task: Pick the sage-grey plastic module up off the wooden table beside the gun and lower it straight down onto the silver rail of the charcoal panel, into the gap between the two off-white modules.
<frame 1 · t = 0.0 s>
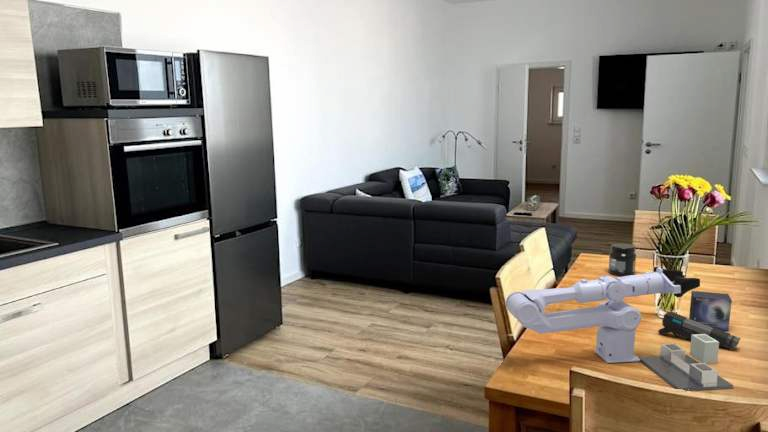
hand: (690, 278, 162), 22 cm above the table, tool horizontal, fingers open, 7 cm apart
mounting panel: (682, 373, 153), on the table
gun: (696, 342, 175), on the table
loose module: (703, 358, 162), on the table
supplement container: (621, 274, 249), on the table
small box: (708, 327, 186), on the table
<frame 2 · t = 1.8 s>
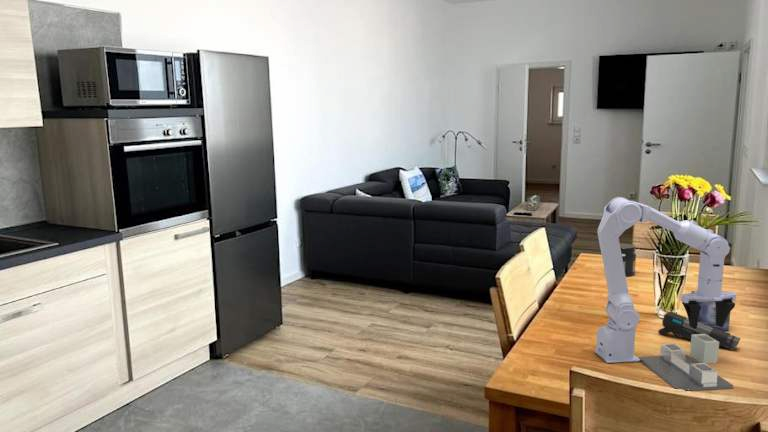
hand: (706, 326, 161), 9 cm above the table, tool pointing down, fingers open, 7 cm apart
nothing on the table moved.
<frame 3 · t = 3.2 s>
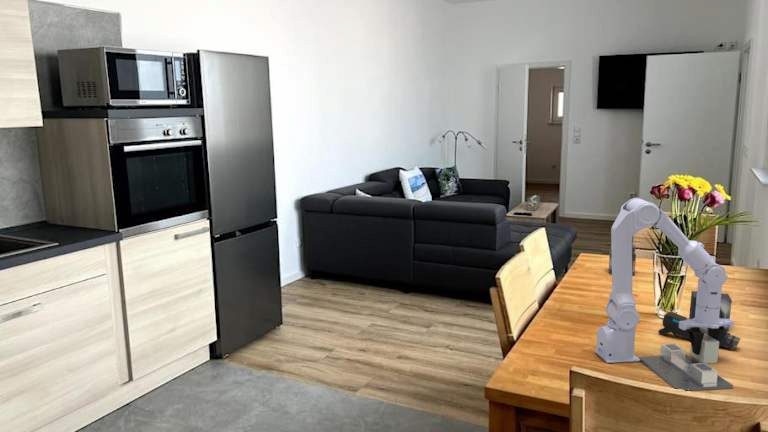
hand: (703, 353, 162), 2 cm above the table, tool pointing down, fingers closed on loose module, 4 cm apart
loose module: (703, 358, 162), on the table, touching gripper
everything else where it was.
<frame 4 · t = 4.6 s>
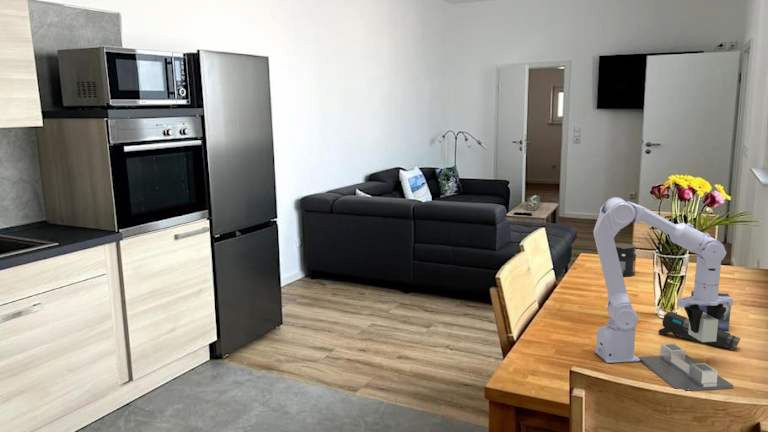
hand: (702, 331, 159), 9 cm above the table, tool pointing down, fingers closed on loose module, 4 cm apart
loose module: (701, 337, 159), point 7 cm above the table, touching gripper
everything else where it was.
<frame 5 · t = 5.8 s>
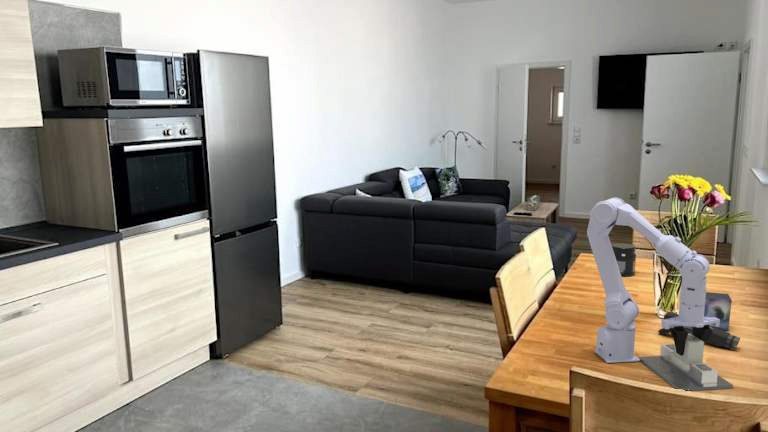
hand: (688, 353, 153), 5 cm above the table, tool pointing down, fingers closed on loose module, 4 cm apart
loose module: (687, 360, 153), point 4 cm above the table, touching gripper
everything else where it was.
when the fingers open (4 cm above the table, at t = 6.4 s): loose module drops 1 cm, resting on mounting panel.
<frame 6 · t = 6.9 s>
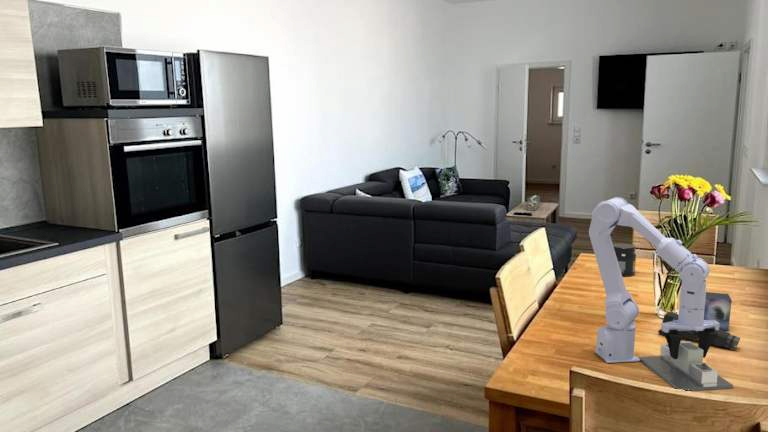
hand: (687, 356, 153), 4 cm above the table, tool pointing down, fingers open, 7 cm apart
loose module: (687, 368, 153), point 1 cm above the table, touching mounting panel
everything else where it was.
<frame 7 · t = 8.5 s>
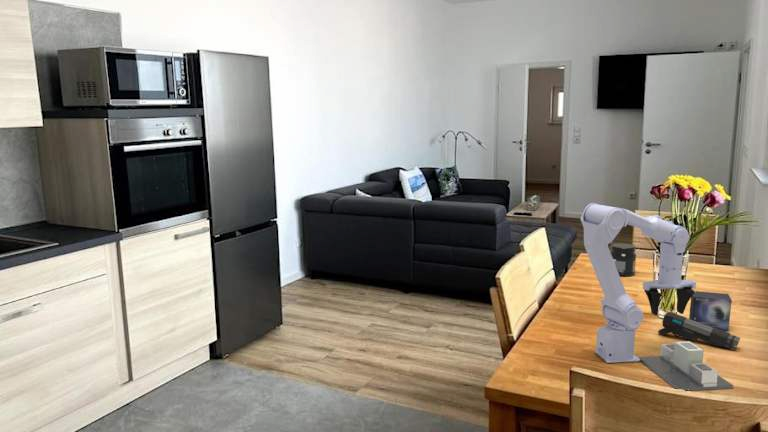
hand: (667, 313, 168), 10 cm above the table, tool pointing down, fingers open, 7 cm apart
nothing on the table moved.
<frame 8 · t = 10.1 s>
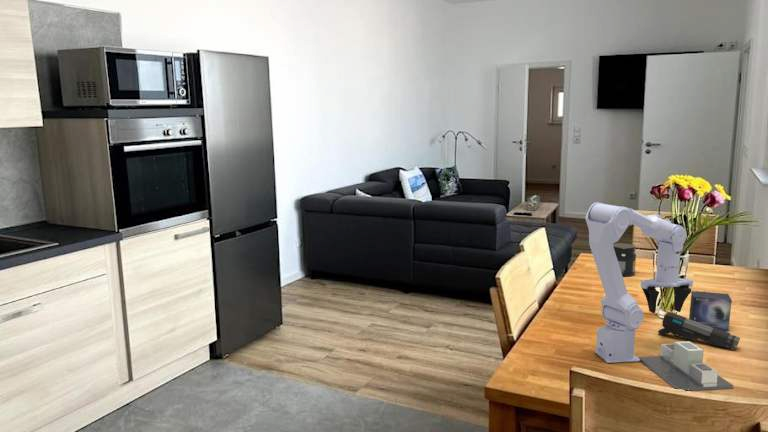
hand: (664, 311, 170), 10 cm above the table, tool pointing down, fingers open, 7 cm apart
nothing on the table moved.
at the end: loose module 0.1 cm from the target spot, point 1.4 cm above the table; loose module tilted 0°; the gripper is holding nothing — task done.
